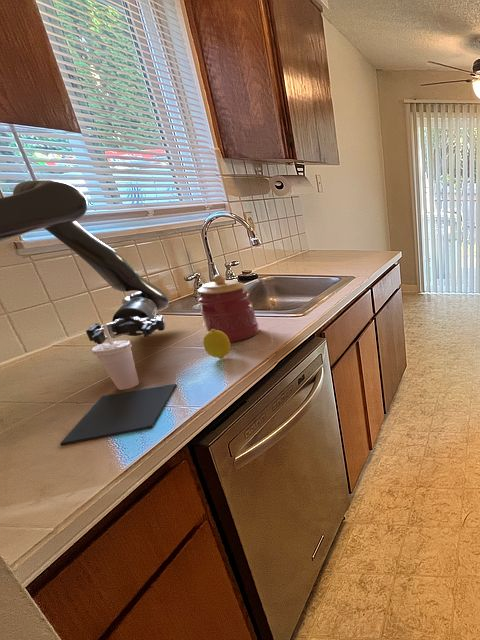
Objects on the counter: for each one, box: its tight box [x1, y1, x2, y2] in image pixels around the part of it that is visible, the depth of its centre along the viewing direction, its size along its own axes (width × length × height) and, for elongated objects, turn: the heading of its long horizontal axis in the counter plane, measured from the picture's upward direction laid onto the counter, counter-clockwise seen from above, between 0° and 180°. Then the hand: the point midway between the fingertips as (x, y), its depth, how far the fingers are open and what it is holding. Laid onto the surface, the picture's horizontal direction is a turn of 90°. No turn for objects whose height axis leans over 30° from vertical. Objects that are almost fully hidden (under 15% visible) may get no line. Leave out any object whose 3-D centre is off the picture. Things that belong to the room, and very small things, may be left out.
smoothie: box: [91, 324, 140, 391], centre depth 85 cm, size 6×6×14 cm
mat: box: [59, 383, 177, 446], centre depth 78 cm, size 13×18×1 cm
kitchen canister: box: [196, 274, 260, 343], centre depth 113 cm, size 13×13×18 cm
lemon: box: [202, 329, 232, 360], centre depth 99 cm, size 6×6×8 cm
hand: (121, 336), depth 92 cm, fingers open, 8 cm apart
